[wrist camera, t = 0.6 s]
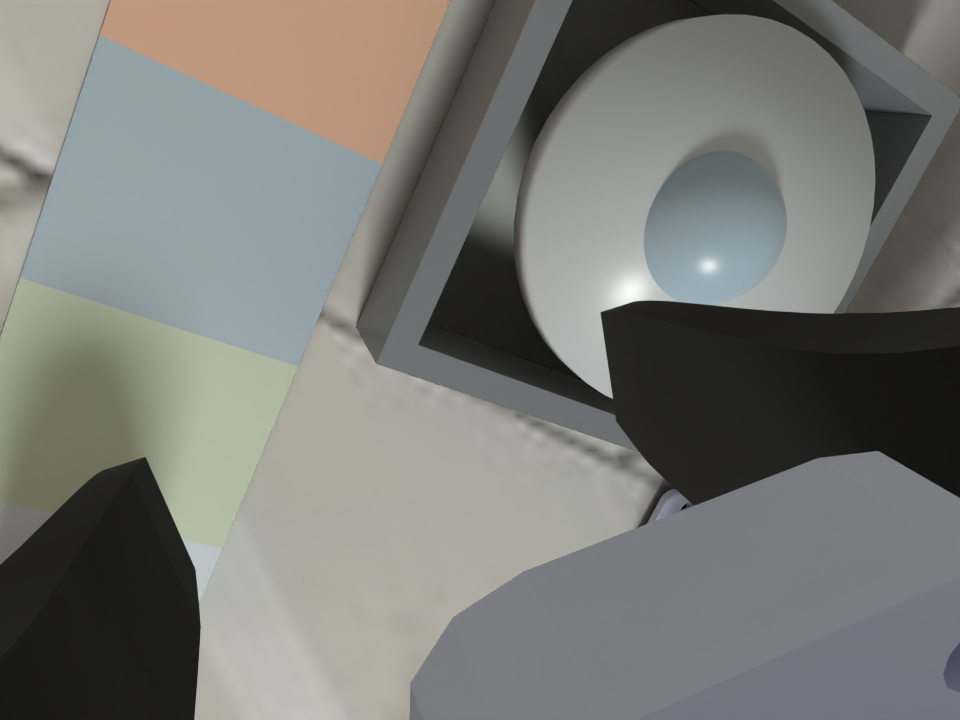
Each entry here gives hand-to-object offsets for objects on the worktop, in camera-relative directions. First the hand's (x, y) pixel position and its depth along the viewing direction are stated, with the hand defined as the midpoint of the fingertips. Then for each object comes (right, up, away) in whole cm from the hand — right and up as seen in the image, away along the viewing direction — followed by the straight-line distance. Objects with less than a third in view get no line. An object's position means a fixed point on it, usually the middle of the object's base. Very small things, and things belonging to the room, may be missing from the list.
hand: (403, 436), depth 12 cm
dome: (+6, +5, +10) cm, 13 cm away
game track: (-7, +2, +8) cm, 11 cm away
